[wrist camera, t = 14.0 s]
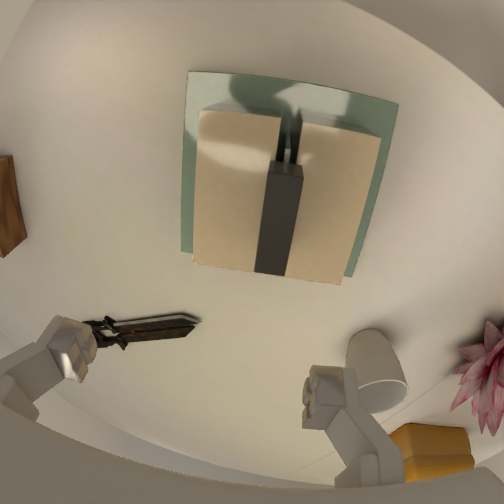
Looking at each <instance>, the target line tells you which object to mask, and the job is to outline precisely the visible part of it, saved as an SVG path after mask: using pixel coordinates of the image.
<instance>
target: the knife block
mask: <svg viewBox="0 0 504 504" xmlns="http://www.w3.org/2000/svg"><path fill="white" fill-rule="evenodd" d="M25 238H27V235H26V231H25V227H24V222H23V218H22V213H21V208H20V203H19V198H18V192H17V186H16V180H15V174H14V166H13V159H12V156H0V257H1V258H4V257H5V256H7V255H8V254H9V253H10V252H11V251H12V250H13V249H14V248H15V247H16V246H18V245H19V244H20V243H21V242H22V241H23V240H24V239H25Z"/></svg>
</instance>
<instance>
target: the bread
mask: <svg viewBox="0 0 504 504" xmlns="http://www.w3.org/2000/svg"><path fill="white" fill-rule="evenodd" d="M389 437H390V438H391V439H392V440H393V441H394V443H395V444H396V445H397V446H398V447H399V448H400V450H401V452H402V459H403V466H404V474H405V483H406V482H413V481H419V480H425V479H430V478H436V477H441V476H445V475H450V474H454V473H458V472H462V471H466V470H470V469H473V468H474V465H475V461H474V458H473V456H472V455H471V447H470V442H469V438H468V435H467V433H466V431H465V429H463V428H454V427H442V426H432V425H423V424H414V423H408V424H405V425H403V426H402V427H400V428H399V429H397V430H396V431H394V432H393V433H391V434H390V435H389Z"/></svg>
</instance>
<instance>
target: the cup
mask: <svg viewBox="0 0 504 504" xmlns="http://www.w3.org/2000/svg"><path fill="white" fill-rule="evenodd" d="M345 368H354V369H355V370H356V376H357V383H358V390H359V398H360V405H361V407H365V408H366V409H367V411H368V412H369V413H370V414H377V413H381V412H384V411H387V410H390V409H392V408H394V407H395V406H397V405H399V404H400V403H401V402H402V401H403V400H404V399H405V398H406V397H407V395H408V392H409V388H408V385H407V382H406V379H405V376H404V373H403V370H402V367H401V365H400V362H399V360H398V358H397V356H396V354H395V352H394V350H393V348H392V346H391V345H390V343H389V342H388V341H387V339H386V338H385V337H384V336H383V334H382V333H381V332H380V331H378V330H375V329H366V330H362V331H360V332H358V333H356V334H355V335H354V336H353V337H352V338H351V340H350V343H349V347H348V352H347V356H346V367H345Z"/></svg>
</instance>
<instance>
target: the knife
mask: <svg viewBox="0 0 504 504" xmlns="http://www.w3.org/2000/svg"><path fill="white" fill-rule="evenodd" d="M104 319H105V320H106V321H107V322H106V321H105V320H103V321H102V322H101V321H100V322H95V321H94V320H93V321H89V322H88V321H87V322H86V321H85V322H82V323H85V324H88V325H91V328H92V331H94V332H95V333H94V332H92V334H93V335H94V337H95V339H96V342H97V348H103V347H104V348H105V347H106V348H107V347H108V346H112V345H113V344H115V343H117V344H118V345H120V347H121V348H122V350H125V347H126V346H127V343H128V342H139V341H150V340H161V339H172V338H181V337H186V336H187V335H188V334H189V333H190V332H191V331H192V330H193V329H194V328H195V326H186V327H178V328H170V329H168V327H175V326H183V325H191V324H198V323H201V322H202V321H199V320H196V319H193V318H190V317H187V316H184V315H175V316H167V317H160V318H153V319H145V320H137V321H129V322H121V323H115V321H114V320H112V319H111V318H109V317H108V316H105V318H104ZM101 326H104V327H101ZM158 328H164V329H161V330H152V331H143V332H135V331H140V330H149V329H158ZM100 330H111V331H112V333H113V334H114V333H119V332H131V333H120V334H118V335H117V336H116V337H106V336H104V335H103V334H101V333H100ZM102 337H103V338H102Z"/></svg>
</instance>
